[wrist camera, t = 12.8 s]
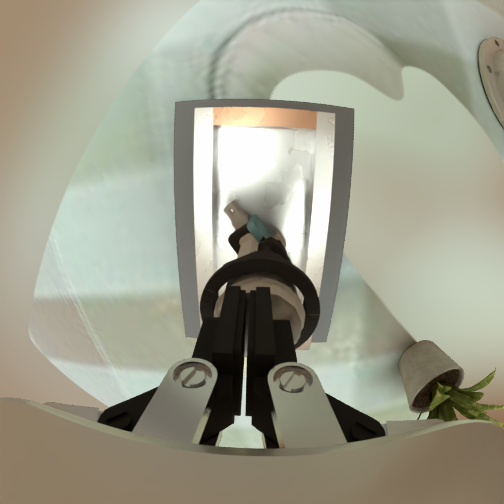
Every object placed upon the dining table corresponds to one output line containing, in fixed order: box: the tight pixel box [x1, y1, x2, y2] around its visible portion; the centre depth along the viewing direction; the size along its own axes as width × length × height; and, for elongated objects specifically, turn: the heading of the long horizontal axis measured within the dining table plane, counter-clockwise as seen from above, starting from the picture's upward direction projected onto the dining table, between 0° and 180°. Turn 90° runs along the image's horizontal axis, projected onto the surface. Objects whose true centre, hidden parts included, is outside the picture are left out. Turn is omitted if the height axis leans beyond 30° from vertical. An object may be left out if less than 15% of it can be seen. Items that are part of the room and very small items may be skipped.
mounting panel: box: [174, 99, 354, 342], centre depth 21 cm, size 13×20×1 cm, turn 178°
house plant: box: [399, 340, 504, 428], centre depth 18 cm, size 14×14×16 cm
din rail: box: [194, 107, 335, 350], centre depth 19 cm, size 9×18×2 cm, turn 178°
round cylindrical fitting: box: [200, 201, 320, 357], centre depth 15 cm, size 7×5×10 cm
